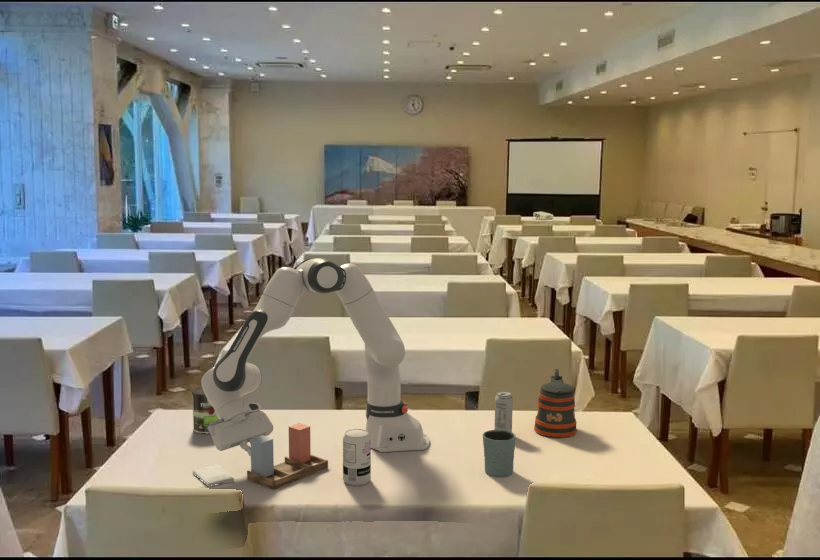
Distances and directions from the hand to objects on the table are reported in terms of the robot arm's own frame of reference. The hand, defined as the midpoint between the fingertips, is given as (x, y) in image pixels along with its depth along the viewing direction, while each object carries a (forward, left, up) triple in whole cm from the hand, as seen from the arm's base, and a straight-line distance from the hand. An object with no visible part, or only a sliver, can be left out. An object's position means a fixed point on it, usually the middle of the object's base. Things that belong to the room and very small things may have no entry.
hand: (254, 453), depth 255 cm
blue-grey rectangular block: (-3, +2, -6) cm, 7 cm away
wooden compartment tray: (-9, -2, -7) cm, 12 cm away
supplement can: (-31, +4, -7) cm, 32 cm away
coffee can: (+24, -41, -7) cm, 48 cm away
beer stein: (-98, -44, -7) cm, 108 cm away
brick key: (-12, -9, -6) cm, 16 cm away
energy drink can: (-79, -37, -7) cm, 88 cm away
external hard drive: (+12, +2, -7) cm, 15 cm away
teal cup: (-74, -4, -7) cm, 74 cm away
